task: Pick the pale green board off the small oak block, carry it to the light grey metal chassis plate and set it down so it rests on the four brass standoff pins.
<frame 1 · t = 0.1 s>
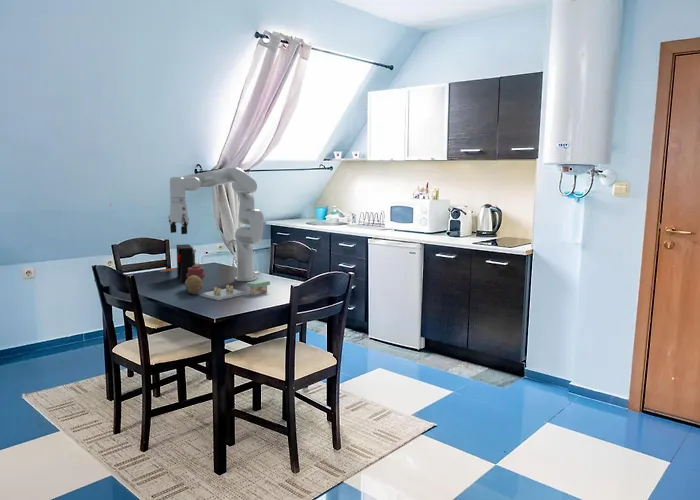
hand: (178, 233, 288), 31 cm above the table, tool pointing down, fingers open, 9 cm apart
oak block: (258, 293, 290), on the table
chassis: (223, 295, 283), on the table
board: (258, 285, 290), point 4 cm above the table, touching oak block
mechanical component: (196, 288, 300), on the table
natural sponge: (194, 294, 286), on the table
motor: (182, 272, 350), on the table
electrical component: (186, 280, 324), on the table
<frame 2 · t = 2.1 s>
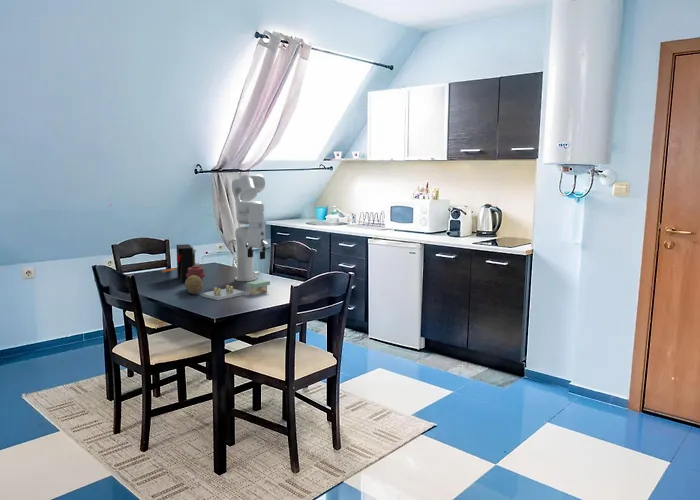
hand: (256, 258, 288), 19 cm above the table, tool pointing down, fingers open, 9 cm apart
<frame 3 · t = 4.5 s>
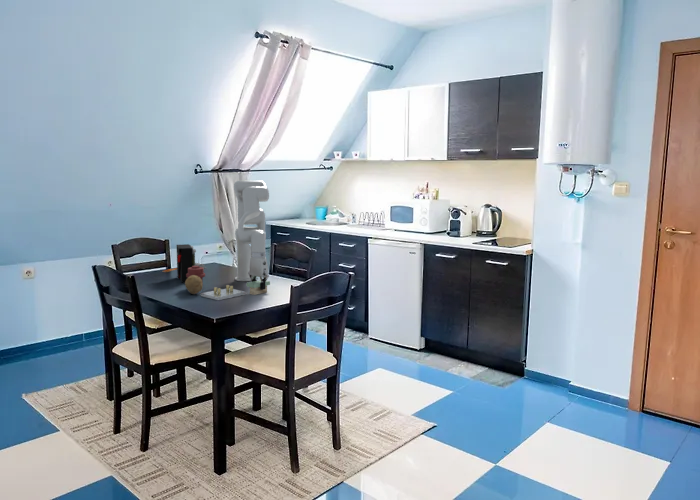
hand: (258, 288, 290), 3 cm above the table, tool pointing down, fingers closed on board, 6 cm apart
board: (258, 285, 290), point 4 cm above the table, touching gripper, oak block
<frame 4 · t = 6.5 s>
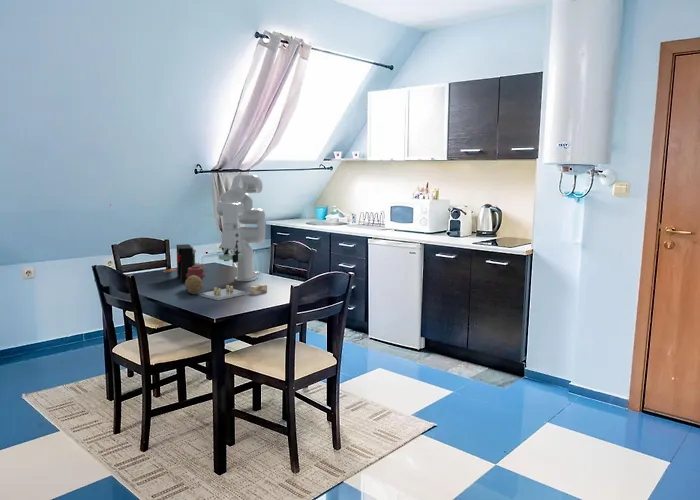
hand: (231, 261, 282), 18 cm above the table, tool pointing down, fingers closed on board, 6 cm apart
board: (231, 258, 282), point 19 cm above the table, touching gripper
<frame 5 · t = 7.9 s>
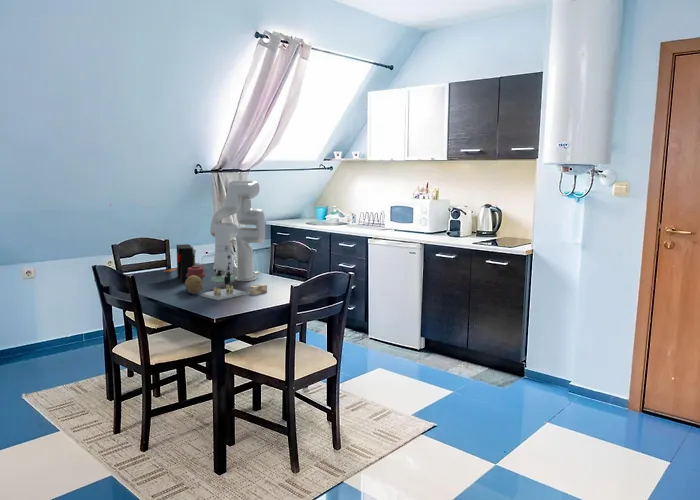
hand: (223, 282, 283), 7 cm above the table, tool pointing down, fingers closed on board, 6 cm apart
board: (223, 280, 282), point 8 cm above the table, touching gripper
when the fingers open (4 cm above the table, at t = 8.9 s): board stays where it is, resting on chassis.
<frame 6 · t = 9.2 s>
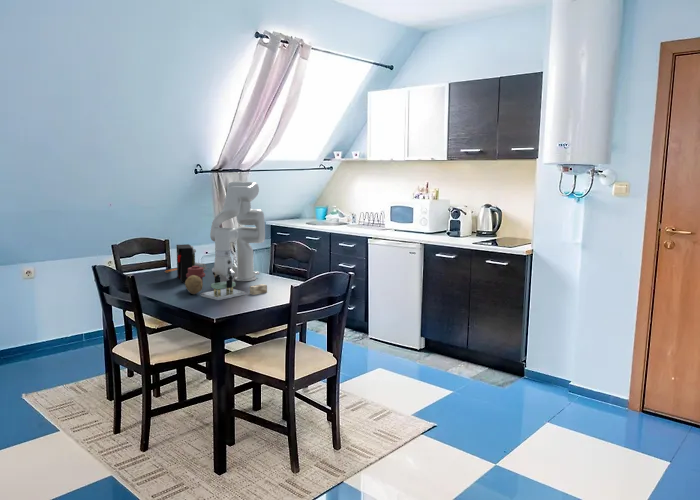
hand: (223, 286, 283), 5 cm above the table, tool pointing down, fingers open, 9 cm apart
board: (223, 286, 283), point 4 cm above the table, touching chassis
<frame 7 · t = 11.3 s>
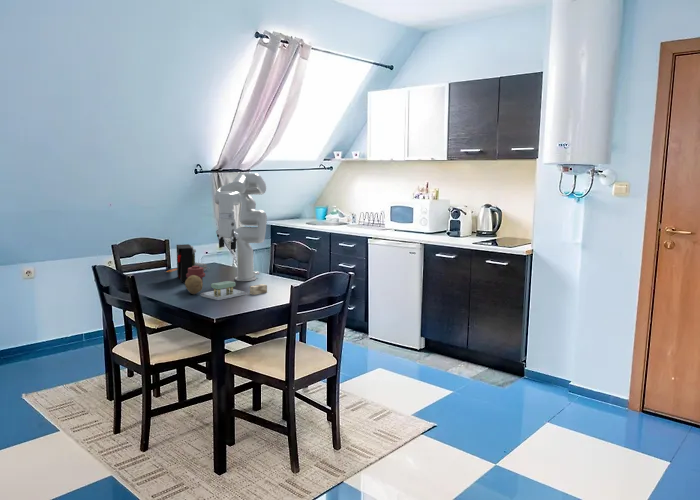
hand: (227, 248, 291), 23 cm above the table, tool pointing down, fingers open, 9 cm apart
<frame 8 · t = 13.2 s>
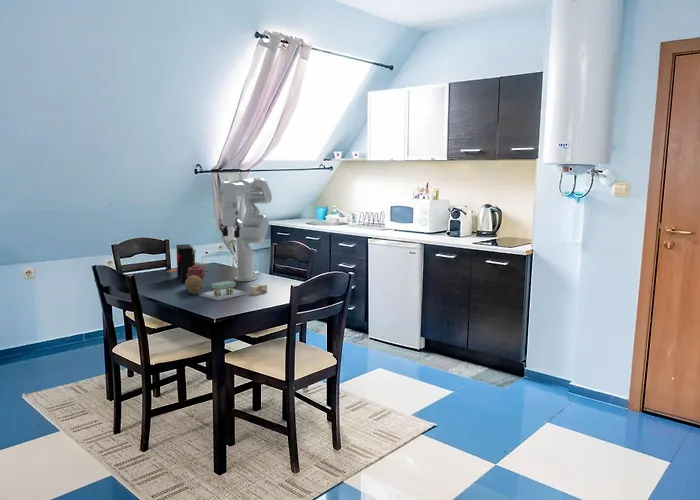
hand: (231, 236, 300), 28 cm above the table, tool pointing down, fingers open, 9 cm apart
at the end: board 0.0 cm off-centre on the chassis, point 4.5 cm above the chassis's base; board tilted 0°; the gripper is holding nothing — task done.
